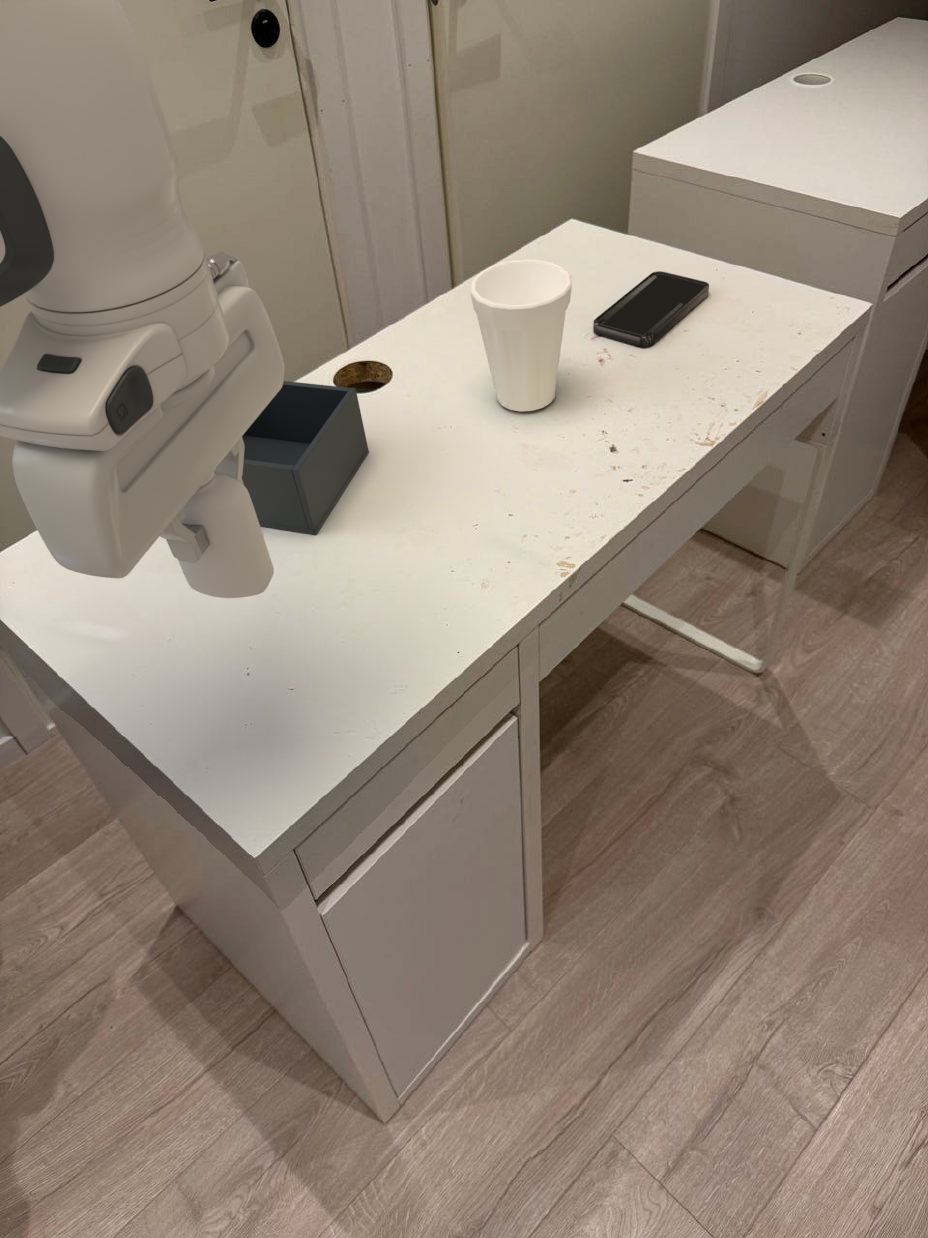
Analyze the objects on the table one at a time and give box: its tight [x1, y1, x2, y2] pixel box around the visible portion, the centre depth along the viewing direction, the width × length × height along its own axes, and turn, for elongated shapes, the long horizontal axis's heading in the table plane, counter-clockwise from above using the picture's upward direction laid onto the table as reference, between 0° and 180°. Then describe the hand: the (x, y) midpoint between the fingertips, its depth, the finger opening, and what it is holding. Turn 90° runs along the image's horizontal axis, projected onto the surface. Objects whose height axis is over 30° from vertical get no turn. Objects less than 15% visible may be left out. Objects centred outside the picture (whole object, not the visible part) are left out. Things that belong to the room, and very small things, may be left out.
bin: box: [242, 380, 370, 536], centre depth 87 cm, size 15×13×8 cm
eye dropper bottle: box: [177, 471, 275, 599], centre depth 55 cm, size 4×6×12 cm
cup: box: [469, 258, 573, 412], centre depth 91 cm, size 10×10×13 cm
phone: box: [592, 271, 710, 348], centre depth 105 cm, size 8×1×15 cm
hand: (212, 528), depth 56 cm, fingers closed on eye dropper bottle, 3 cm apart
